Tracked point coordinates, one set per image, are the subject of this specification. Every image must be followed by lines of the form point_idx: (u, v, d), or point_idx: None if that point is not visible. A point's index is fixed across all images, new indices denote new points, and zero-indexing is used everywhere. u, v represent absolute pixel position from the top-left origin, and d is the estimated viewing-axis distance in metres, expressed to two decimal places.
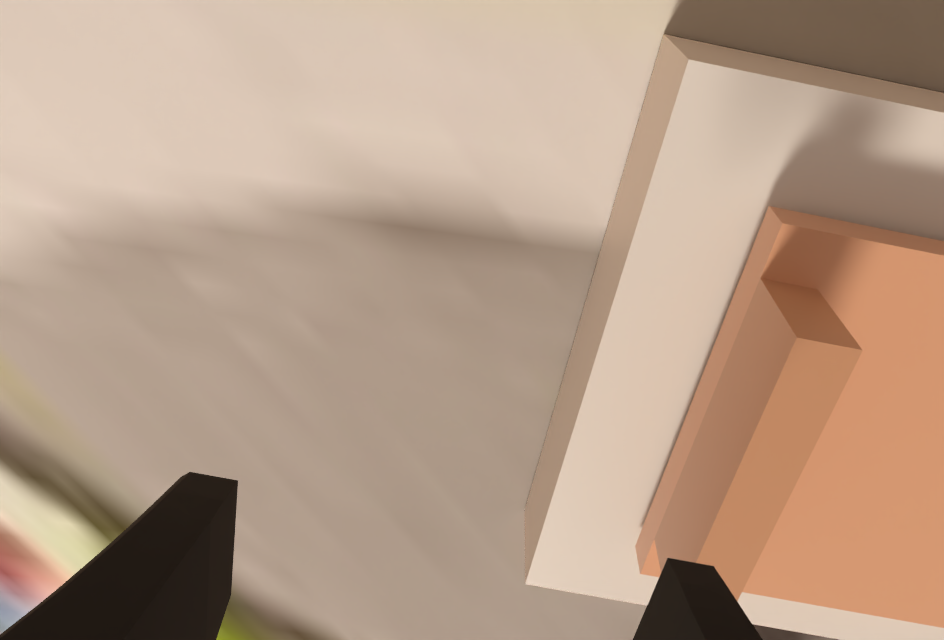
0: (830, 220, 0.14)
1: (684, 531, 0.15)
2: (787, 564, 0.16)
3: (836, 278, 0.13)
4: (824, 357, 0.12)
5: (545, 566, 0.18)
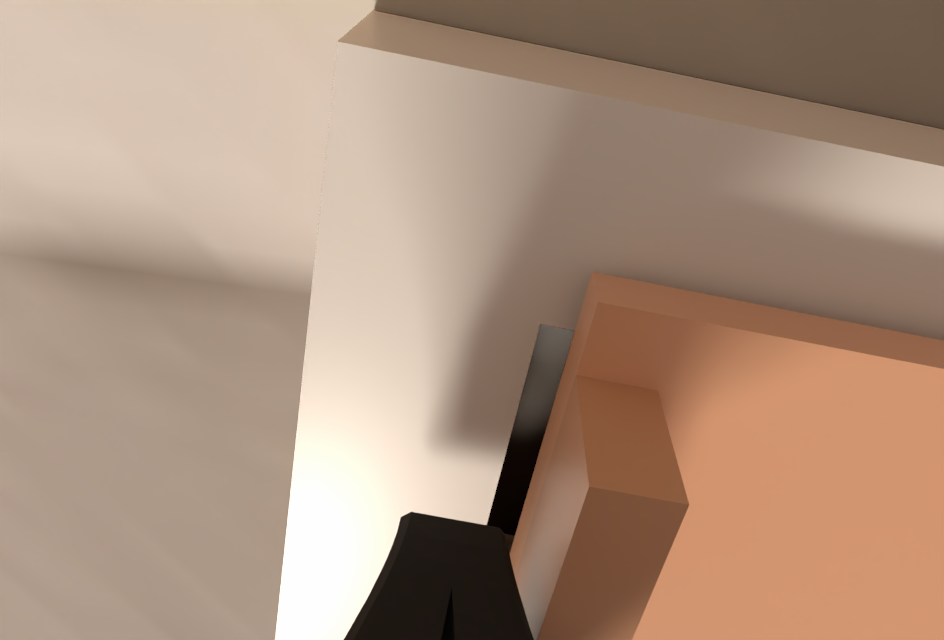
0: (677, 292, 0.10)
1: None
2: None
3: (682, 376, 0.09)
4: (634, 513, 0.08)
5: None
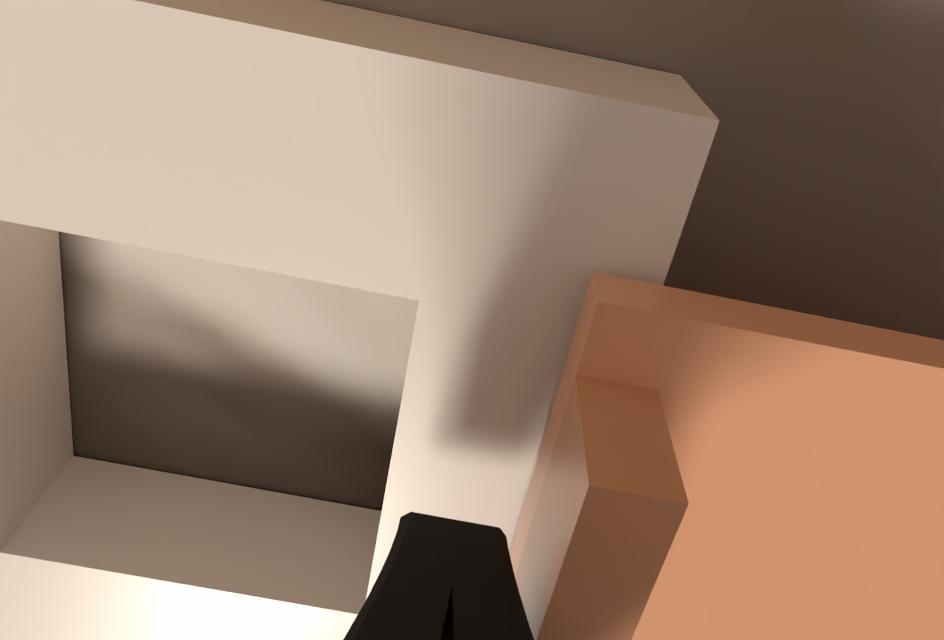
0: (677, 292, 0.10)
1: None
2: None
3: (682, 375, 0.09)
4: (633, 512, 0.08)
5: None
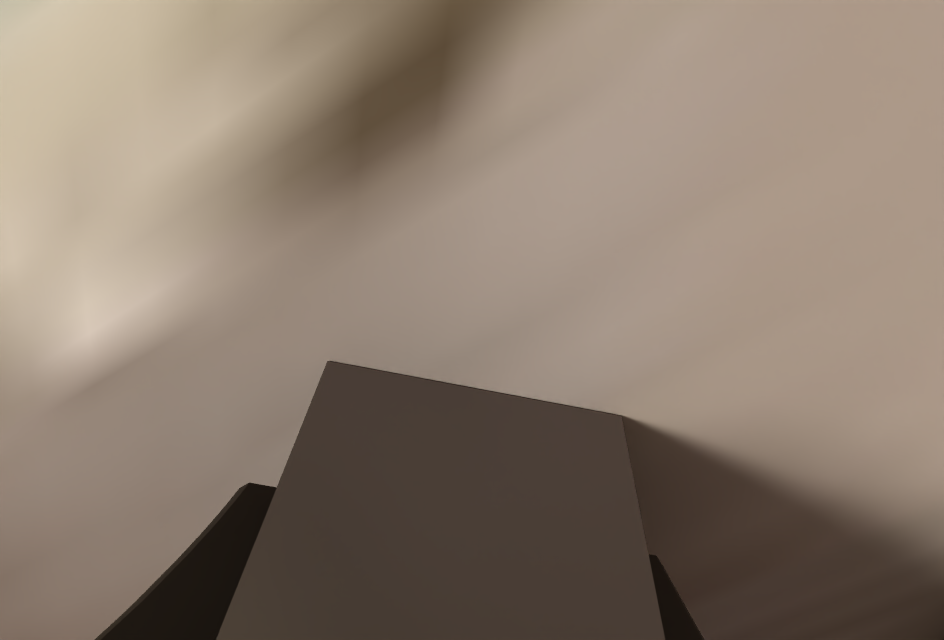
0: None
1: None
2: None
3: None
4: None
5: None
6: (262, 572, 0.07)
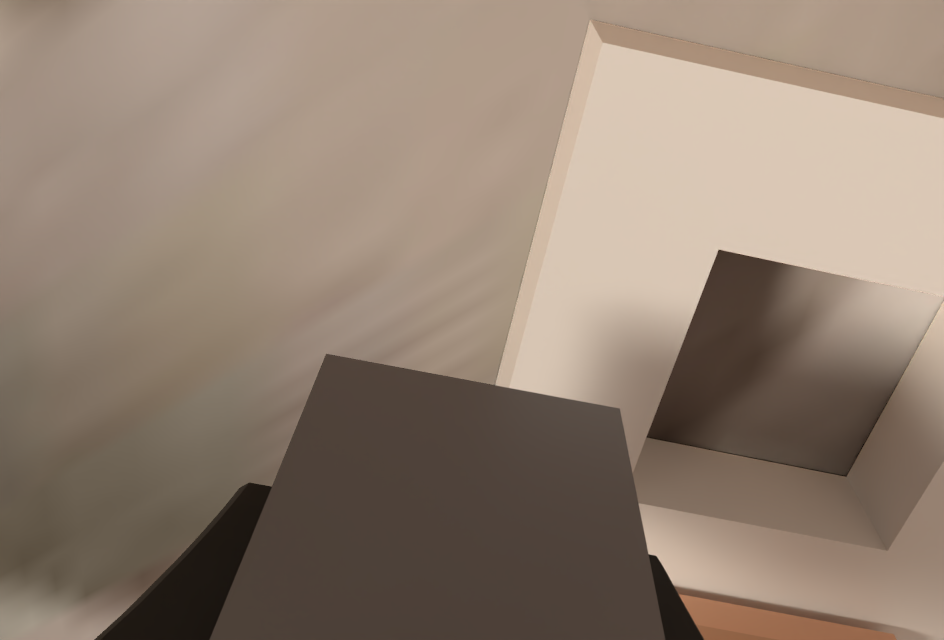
0: None
1: None
2: None
3: None
4: None
5: (636, 72, 0.13)
6: (260, 562, 0.07)
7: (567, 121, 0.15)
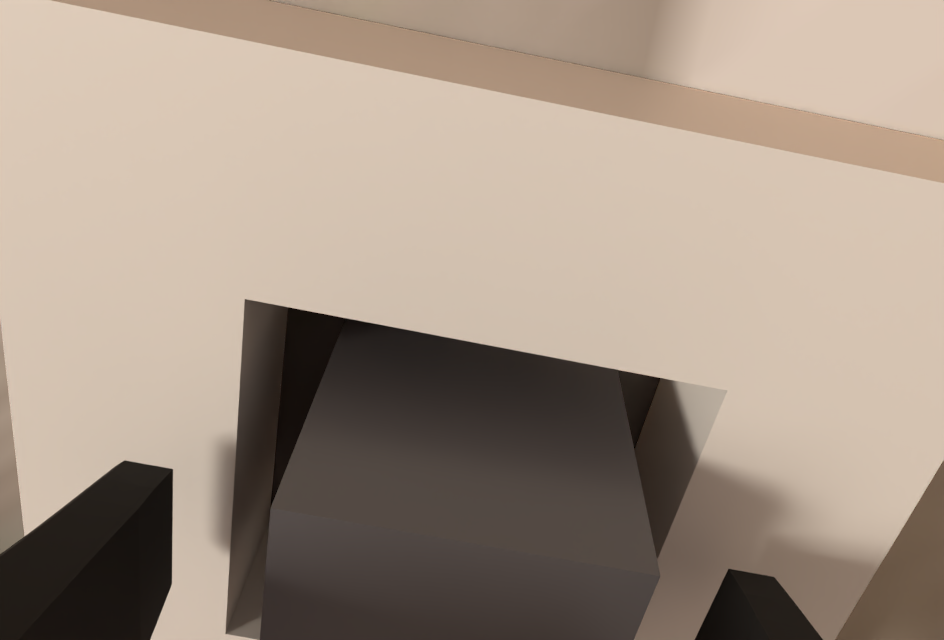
0: None
1: None
2: None
3: None
4: None
5: (32, 29, 0.08)
6: (316, 431, 0.09)
7: None
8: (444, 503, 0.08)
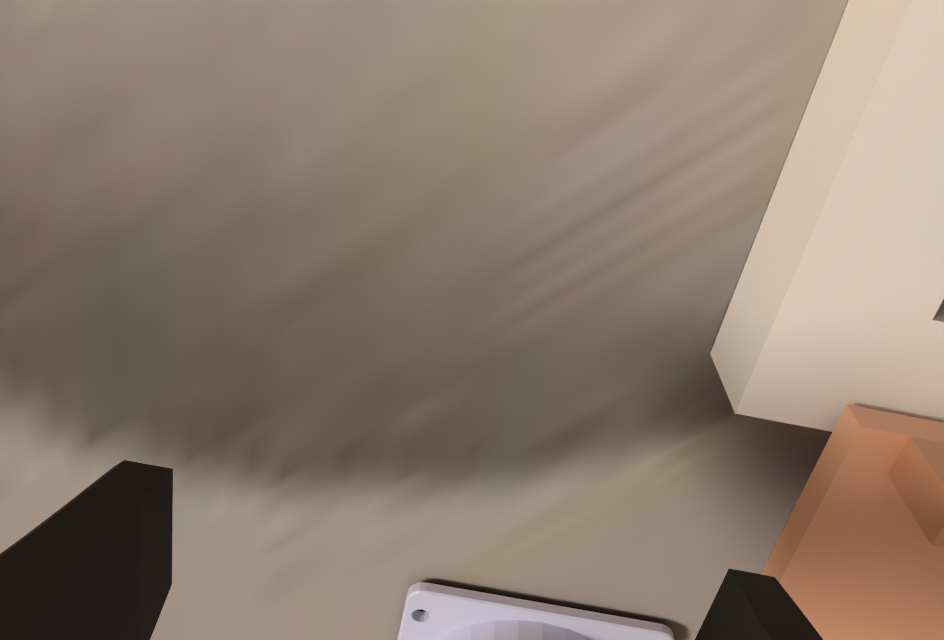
0: None
1: None
2: (848, 538, 0.17)
3: None
4: None
5: None
6: None
7: None
8: None
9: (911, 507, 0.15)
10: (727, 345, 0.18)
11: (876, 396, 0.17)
